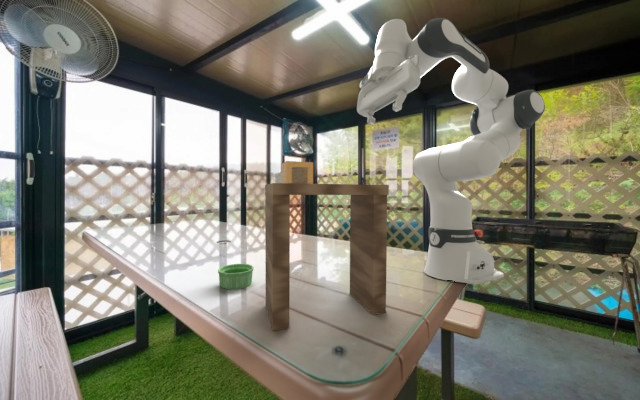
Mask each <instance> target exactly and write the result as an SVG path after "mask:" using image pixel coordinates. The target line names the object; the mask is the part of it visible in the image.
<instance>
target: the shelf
mask: <svg viewBox="0 0 640 400" xmlns="http://www.w3.org/2000/svg"><path fill="white" fill-rule="evenodd" d="M389 188H390V186H389V184H356V183H355V184H348V183H346V184H343V183H313V184H297V183H275V182H271V183H267V184H265V187H264V189H265V190H264V191H265V192H264V193H265V307H266V308H265V309H266V311H267V315H268V319H269V323H270V326H271V330H272V331H273V332H275V331H279V330H284V329H285V330H286V329H290V275H291V274H290V273H291V272H290V265H291V264H290V256H291V254H290V253H291V252H290V251H291V250H290V246H291V245H290V243H291V242H290V240H291V238H290V237H291V235H290V228H291V225H290V224H291V223H290V219H291V217H290V215H291V213H290V211H291V210H290V209H291V208H290V207H291V206H290V205H291V204H290V203H291V198H290V197H291V196H294V195H296V196H297V195H298V196H305V195H306V196H307V195H308V196H350V197H349V198H350V199H349V200H350V208H349V209H350V210H349V213H350V214H349V215H350V216H349V217H350V218H349V222H350V225H349V230H350V231H349V295H350V296H351V297H352V298H354V299H355V300H356V301H357V302H358V303H359V304H360V305H361V306H363V307H364V308H365V309H366V310H367V311H368V312H369V313H370V314H372V315H378V314H383V313H385V314H386V313H387V245H388V244H387V242H388V241H387V240H388V239H387V238H388V232H387V231H388V196H389V194H390V193H389V192H390V191H389V190H390V189H389ZM290 195H291V196H290Z"/></svg>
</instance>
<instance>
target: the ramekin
mask: <svg viewBox="0 0 640 400" xmlns="http://www.w3.org/2000/svg"><path fill="white" fill-rule="evenodd" d="M253 271H254V266H253V265H251V264H248V263H233V264H227V265H224V266H222V267H221V266H220V267H219V268H218V270H217V272H218V276H219V277H218V280H219V286H220V288H222V289H224V288H225V290H239V289H244V288H247V287H249V286H250V285H251V284H252V282H253Z"/></svg>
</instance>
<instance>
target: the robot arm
mask: <svg viewBox="0 0 640 400" xmlns="http://www.w3.org/2000/svg"><path fill="white" fill-rule="evenodd" d="M376 37H377V38H376V42H375V46H374V56H375V57H374V59H373V62H372V63H373V64H372V66H371V67H370V69H369V70H368V72H367V74H366V75H365V76H364V78H363V79H362V80H360V83H359V88H360V91H359V93H358V96H357V103H356V104H357V105H356V112H357V114H359V115H360V116H362V117H365V118H367V119H366V123H367V124H368V125H369V126H372V125H374V124H375V123H376V118H375V117H374V115H375V112H378V111H380V110H381V109H383V108H385V107H386V106H388V105H390V104H392V107H391V108H392V111H394V112H395V113H397V112H399V111H401V110H402V108H403V103H404V102H405V100H406V98H407V96H408V94H410V93H411V92H413V91H414V90H416V89H418V87H419V86H420V84H421V78H422V77H423V76H425V75H426V74H427V73H428V72H430V71H431V70H432V69H433V68H434V67H435V66H437V65H439V63H441V62H442V61H444V60H445V59H448V58H453V59H454V60H455V61H457V62H458V63H459V64H461V65H460V67H458V69H457V70H456V72H454V75H453V78H452V81H451V91H452V93H453V94H454V96H455V97H456V98H457V99H459V100H461V101H463V102H466V103H470V104H473V105H476V107H474V109H473V110H472V112H471V116H470V118H469V119H470V120H469V125H468V126H469V127H468V128H469V131H470V133H471V134H472V136H469V137H468V138H466V139H465V140H462V141H460V142H454V143H449V144H446V145H441V146H440V145H439V146H436V147H430V148H427V149H426V150H423V151H421V152H418V153H417V154H416V155H415V157H414V159H413V162H412V171H413V174H414V175H415V177H416V179H418V180H419V181H420V182H421V183H422V184H423V186H424V188H425V190H426V192H427V195H428V199H429V208H430V209H429V210H430V211H429V212H430V214H429V215H430V217H429V218H430V224H429V225H430V226H429V227H428V240H429V245H428V251H427V257H426V261H425V267H424V269H423V273H424V274H425V275H428V276H430V277H431V278H432V277H433V278H435V279H439V280H441V281H447V280H454V281H455V282H456V283H465V284H470V285H474V286H478V285H481V284H485V283H488V282H491V281H494V280H498V279H502V278H504V277H505V275H504V274H505V273H504V272H502V271H501V270H498V269H495V260H494V256H493V254H491V252H489V251H488V250H487V249H485V248H484V246H482V245H481V244H480V243H478V241H477V238H476V237H479V238H483V235H484V231H483V230H482V229H473V225H472V223H473V205H472V201H471V200H470V199H469V197H467V196H465V195H463V194H462V193H461V192H460V190H459V189H458V187H457V182H467V181H469V182H470V181H476V180H482V179H485V178H488V177H492V176H493V175H495V174H496V173H497V171H498V170H499V168H500V165H501V162H503V161H504V160H506V159H508V158H509V157H510V156H513V155H514V154H515V153H516V152H517V151H518V150H519V148H520V147H521V144H522V139H521V134H520V133H521V132H522V131H523V130H525V129H526V130H531V128H532V127H533V124H535V123H536V122H537V121H538V120H540V118H541V117H542V115H543V114H544V112H545V111H546V110H545V109H546V105H545V100H544V98H543V96H542V95H541V93H540V92H538V91H536V90H535V89H526V90H523V91H520V92H517V93H515V94H514V95H510V96H508V97H507V94H508V91H509V83H508V81H507V79H506V78H505V77H503V76H502V74H499V73H498V72H497V71H495V70H493V69H491V67H490V60H489V58H488V56H487V54H486V53H485V52H484V51H483V50H482V49H480V47H478V46H477V45H476V44H475V43H473V42H472V40H470V39H468V37H466V35H464V34H463V33H462V32H461V31H460V30H459V29H458V28H457V27H456V24H454V23H453V21H451V20H450V19H448V18H446V17H436V18H432V19H429V20H428V22H427V23H426V24H425V25H424V26H423V27H422V28H421V30H420V31H419V32H418V34H417V35H416V36H415V37H414V38H413V39H412V38H411V37H410V35H409V33H408V28H407V24H406V22H405V20H403V19H400V18H393V19H390V20H388V21H386V22H385V23H384V24H383V25H382V26H381V28H380V29H379V30H378V34H377V36H376ZM454 281H453V282H454Z"/></svg>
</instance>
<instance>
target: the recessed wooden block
mask: <svg viewBox="0 0 640 400" xmlns="http://www.w3.org/2000/svg"><path fill="white" fill-rule="evenodd" d="M274 177H275V179H274V183H297V184H314V162H313V161H296V160H295V161H293V160H291V161H289V160H286V161H284V162H283V163H281V171H280V172H278V173H276V174H275V176H274Z"/></svg>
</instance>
